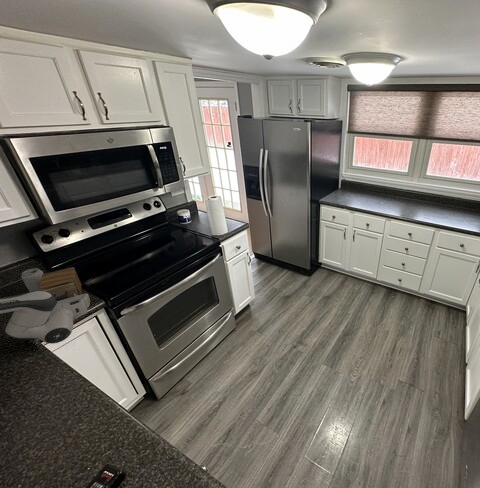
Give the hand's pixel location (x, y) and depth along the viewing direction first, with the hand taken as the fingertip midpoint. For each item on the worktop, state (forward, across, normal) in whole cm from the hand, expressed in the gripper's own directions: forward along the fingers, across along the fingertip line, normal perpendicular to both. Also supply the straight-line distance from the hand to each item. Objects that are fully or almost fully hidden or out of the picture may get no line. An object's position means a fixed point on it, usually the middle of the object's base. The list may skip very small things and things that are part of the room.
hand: (60, 298), depth 121 cm
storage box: (+15, 0, -6) cm, 16 cm away
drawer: (+9, 0, -5) cm, 11 cm away
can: (+27, -10, -6) cm, 29 cm away
